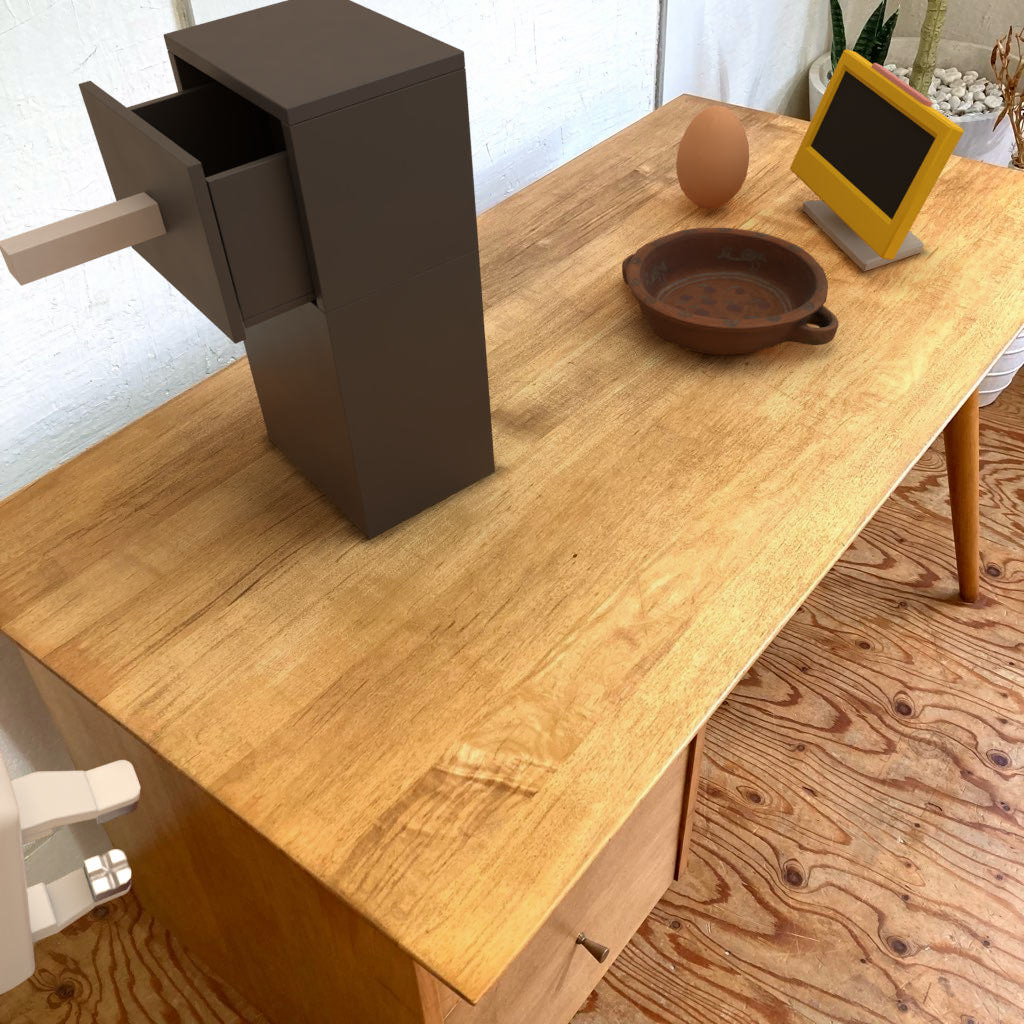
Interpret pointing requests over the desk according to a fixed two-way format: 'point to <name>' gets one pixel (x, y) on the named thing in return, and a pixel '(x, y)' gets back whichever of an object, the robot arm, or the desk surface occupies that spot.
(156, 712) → the desk surface
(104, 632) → the desk surface
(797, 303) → the dish
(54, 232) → the drawer
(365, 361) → the cabinet
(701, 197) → the egg
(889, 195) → the toy computer monitor
